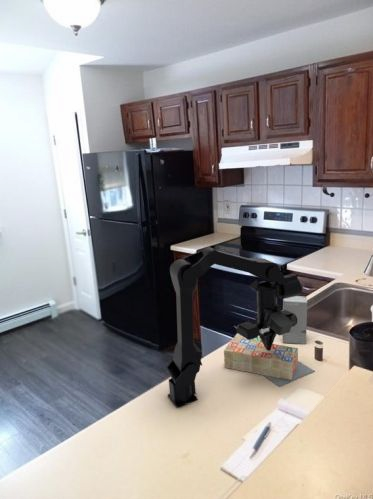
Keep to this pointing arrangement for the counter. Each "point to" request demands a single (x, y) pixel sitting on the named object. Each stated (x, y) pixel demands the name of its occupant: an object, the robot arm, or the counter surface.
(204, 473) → the counter surface
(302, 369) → the mat
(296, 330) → the skincare box
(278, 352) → the stack of blocks
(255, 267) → the robot arm
